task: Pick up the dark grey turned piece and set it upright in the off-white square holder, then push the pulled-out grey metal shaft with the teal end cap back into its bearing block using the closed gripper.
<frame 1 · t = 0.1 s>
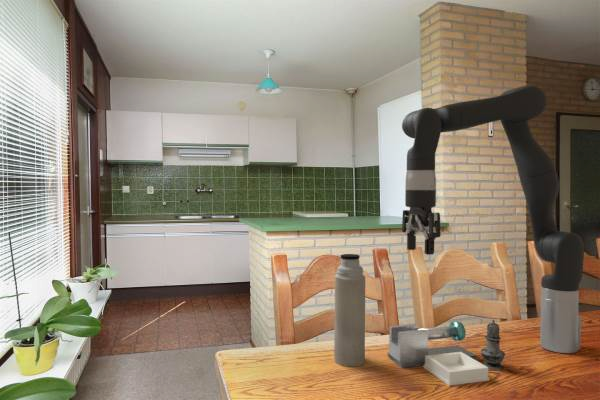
hand: (420, 251, 114), 29 cm above the table, tool pointing down, fingers open, 8 cm apart
shaft: (439, 332, 120), point 6 cm above the table, slide at 9.0 cm
thermos bottle: (349, 361, 118), on the table
bearing block: (408, 360, 118), on the table
dark grey turned piece: (492, 366, 114), on the table
holder: (455, 373, 110), on the table
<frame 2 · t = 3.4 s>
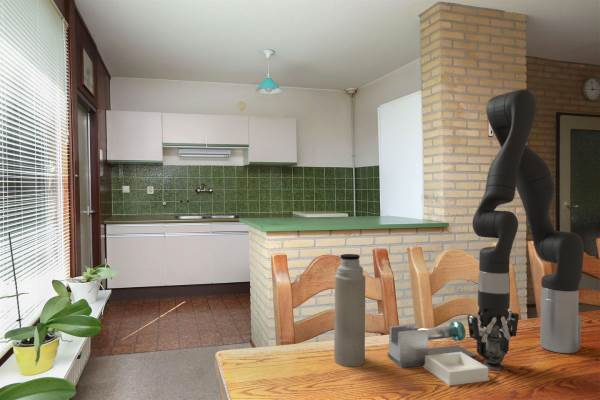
hand: (492, 353, 114), 3 cm above the table, tool pointing down, fingers closed on dark grey turned piece, 6 cm apart
dark grey turned piece: (492, 366, 114), on the table, touching gripper
everything else where it was.
when the fingers open (5 cm above the table, at t = 9.3 s): dark grey turned piece drops 1 cm, resting on holder.
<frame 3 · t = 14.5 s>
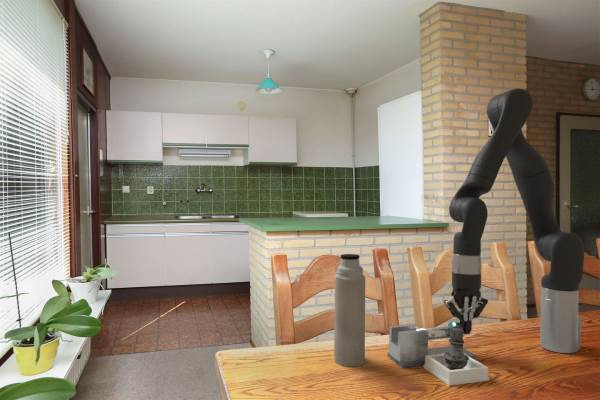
hand: (465, 333, 122), 6 cm above the table, tool pointing down, fingers closed
shaft: (437, 333, 120), point 6 cm above the table, slide at 8.4 cm, touching gripper
dark grey turned piece: (456, 371, 110), resting on holder
everything else where it was.
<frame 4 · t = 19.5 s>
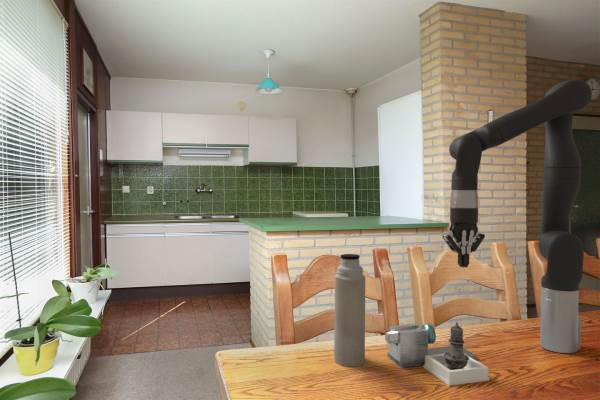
hand: (463, 266, 127), 23 cm above the table, tool pointing down, fingers closed
shaft: (409, 335, 118), point 6 cm above the table, slide at 0.0 cm
everything else where it was.
at the end: dark grey turned piece 0.2 cm off-centre on the holder, point 0.4 cm above the holder's base; dark grey turned piece tilted 0°; shaft slide at 0.0 cm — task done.
